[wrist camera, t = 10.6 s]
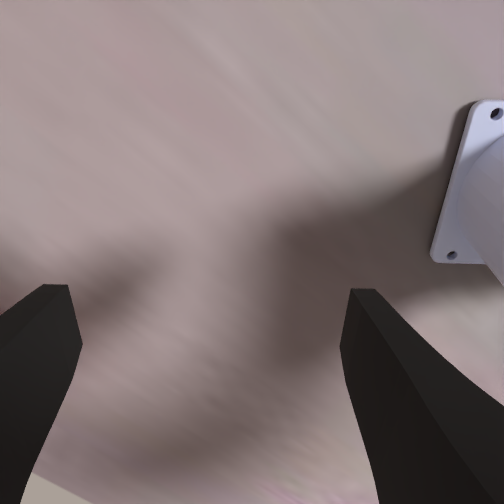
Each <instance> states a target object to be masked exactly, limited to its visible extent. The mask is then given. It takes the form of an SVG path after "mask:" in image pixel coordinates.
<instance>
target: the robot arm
mask: <svg viewBox="0 0 504 504" xmlns="http://www.w3.org/2000/svg"><path fill="white" fill-rule="evenodd" d="M495 108H499V113H498V115H497V116H495V117H494V118H490V114H491V112H492V111H493V110H494V109H495ZM451 251H455V252H454V253H453V254H452V255H450V256H447V254H448V253H449V252H451ZM430 256H431V258H432V259H433V261H435V262H437V263H458V264H486V265H487V266H488V267H489V268H490V270H491V271H492V272H493V274H494V275H495V276H496V277H497V279H498V280H499V281H500V282H501V284H502V285H503V286H504V100H480V101H478V102H476V103H475V104H474V105H473V106H472V107H471V109H470V111H469V115H468V118H467V122H466V125H465V129H464V132H463V136H462V139H461V143H460V147H459V150H458V154H457V157H456V161H455V164H454V168H453V171H452V175H451V179H450V182H449V186H448V189H447V193H446V196H445V200H444V203H443V207H442V211H441V214H440V218H439V221H438V225H437V228H436V232H435V235H434V239H433V243H432V246H431V250H430ZM82 345H83V343H82V339H81V335H80V331H79V327H78V324H77V320H76V316H75V312H74V308H73V304H72V300H71V296H70V292H69V288H68V285H53V284H43V285H42V286H40V287H39V288H37V289H36V290H34V291H33V292H31V293H30V294H29V295H27V296H26V297H25V298H23V299H22V300H21V301H19V302H18V303H17V304H15V305H14V306H13V307H11V308H10V309H9V310H7V311H6V312H5V313H3V314H2V315H1V316H0V504H20V502H21V499H22V496H23V493H24V490H25V487H26V484H27V481H28V479H29V477H30V474H31V472H32V469H33V467H34V464H35V462H36V460H37V458H38V455H39V453H40V451H41V449H42V447H43V444H44V442H45V440H46V438H47V435H48V433H49V431H50V429H51V427H52V424H53V422H54V420H55V418H56V416H57V413H58V411H59V409H60V407H61V404H62V402H63V400H64V398H65V395H66V393H67V391H68V388H69V386H70V384H71V381H72V379H73V376H74V372H75V369H76V366H77V363H78V359H79V355H80V352H81V348H82ZM340 352H341V358H342V365H343V370H344V376H345V381H346V385H347V389H348V392H349V395H350V399H351V402H352V406H353V409H354V412H355V416H356V419H357V422H358V425H359V429H360V432H361V435H362V439H363V442H364V445H365V449H366V452H367V455H368V458H369V462H370V465H371V469H372V473H373V477H374V481H375V485H376V490H377V495H378V500H379V504H504V406H503V405H502V404H500V403H499V402H498V401H496V400H495V399H494V398H492V397H491V396H490V395H488V394H487V393H486V392H485V391H483V390H482V389H481V388H479V387H478V386H477V385H476V384H474V383H473V382H472V381H471V380H469V379H468V378H467V377H466V376H465V375H463V374H462V373H461V372H460V371H459V370H458V369H456V368H455V367H454V366H453V365H452V364H451V363H450V362H448V361H447V360H446V359H445V358H444V357H443V356H442V355H441V354H439V353H438V352H437V351H436V350H435V349H434V348H433V347H432V346H431V345H430V344H429V343H428V342H427V341H426V340H425V339H423V338H422V337H421V336H420V335H419V334H418V333H417V332H416V331H415V330H414V329H413V328H412V327H411V326H410V325H409V324H408V323H407V322H406V321H405V320H404V319H403V318H402V317H401V316H400V315H399V313H398V312H397V311H396V310H395V309H394V308H393V307H392V306H391V305H390V304H389V303H388V302H387V301H386V300H385V299H384V298H383V297H382V296H381V295H380V294H379V293H378V292H377V291H376V290H375V289H351V291H350V296H349V301H348V306H347V311H346V316H345V321H344V327H343V332H342V337H341V342H340Z"/></svg>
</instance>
